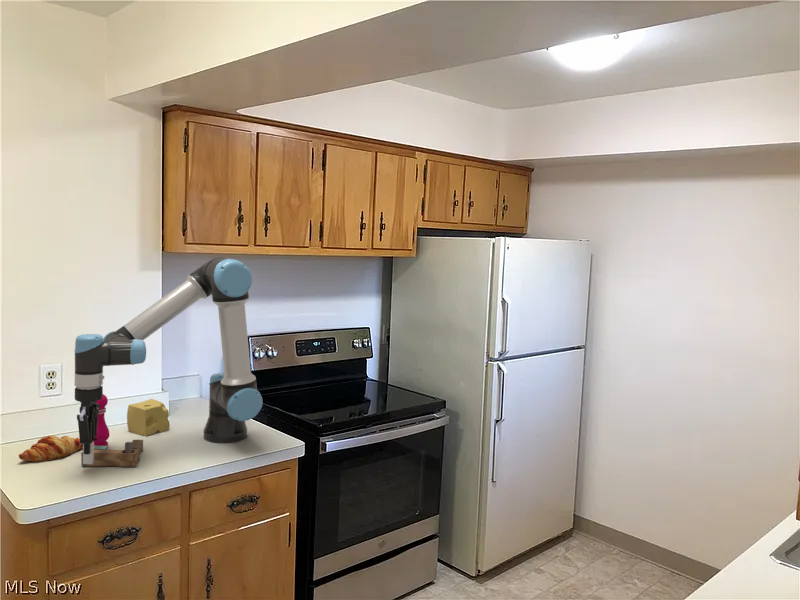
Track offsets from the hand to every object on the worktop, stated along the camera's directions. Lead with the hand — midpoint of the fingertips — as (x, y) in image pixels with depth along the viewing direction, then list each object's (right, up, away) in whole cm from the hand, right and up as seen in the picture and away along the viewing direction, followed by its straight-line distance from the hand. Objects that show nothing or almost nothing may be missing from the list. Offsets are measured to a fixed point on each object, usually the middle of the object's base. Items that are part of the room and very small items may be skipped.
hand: (88, 463), depth 194 cm
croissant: (-16, -1, +11) cm, 19 cm away
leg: (+4, -2, +5) cm, 7 cm away
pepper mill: (-6, 0, +19) cm, 20 cm away
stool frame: (+3, -1, +11) cm, 11 cm away
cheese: (+3, +2, +39) cm, 39 cm away
